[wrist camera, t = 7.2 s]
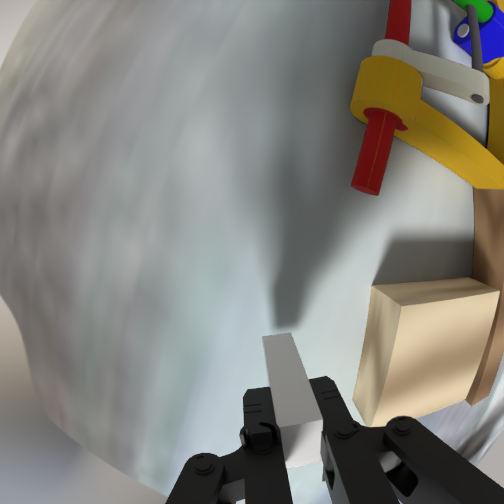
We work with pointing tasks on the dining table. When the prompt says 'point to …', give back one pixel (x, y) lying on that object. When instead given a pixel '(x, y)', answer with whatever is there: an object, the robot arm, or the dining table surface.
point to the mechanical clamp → (422, 114)
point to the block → (422, 346)
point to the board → (489, 282)
